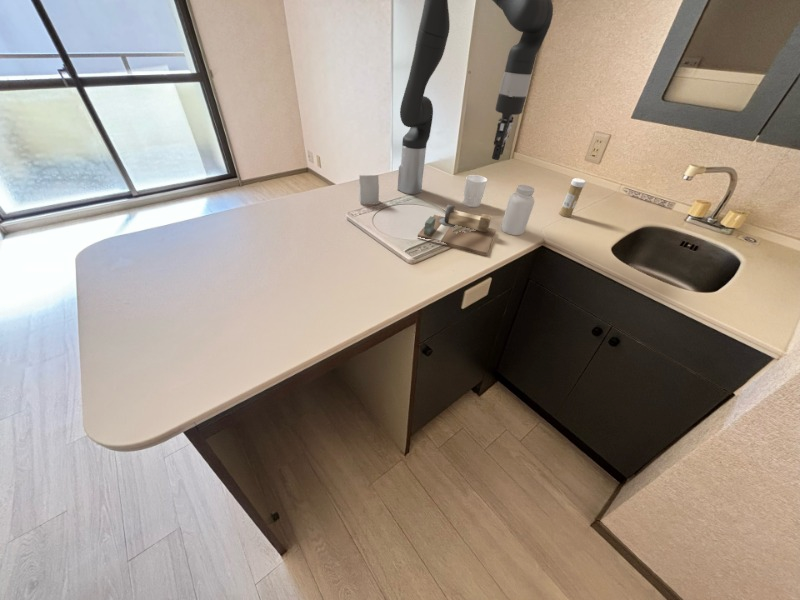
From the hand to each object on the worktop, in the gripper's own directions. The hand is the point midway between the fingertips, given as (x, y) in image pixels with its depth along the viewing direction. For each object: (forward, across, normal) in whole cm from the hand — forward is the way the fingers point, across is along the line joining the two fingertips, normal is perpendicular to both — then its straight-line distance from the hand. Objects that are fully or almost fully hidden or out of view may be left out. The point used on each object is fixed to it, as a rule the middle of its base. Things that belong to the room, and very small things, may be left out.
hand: (497, 156), depth 100 cm
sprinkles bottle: (+23, -25, +28) cm, 44 cm away
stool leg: (+21, +8, -4) cm, 23 cm away
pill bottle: (+23, 0, +11) cm, 25 cm away
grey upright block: (+23, +4, -42) cm, 48 cm away
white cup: (+23, -16, -7) cm, 28 cm away
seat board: (+23, +13, -5) cm, 26 cm away
